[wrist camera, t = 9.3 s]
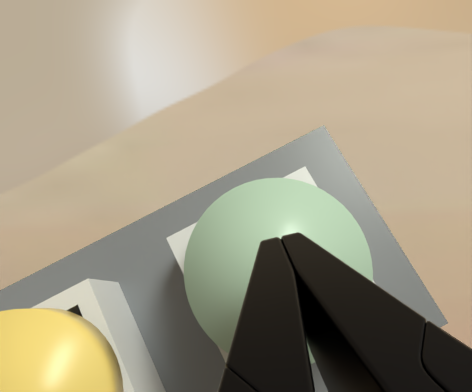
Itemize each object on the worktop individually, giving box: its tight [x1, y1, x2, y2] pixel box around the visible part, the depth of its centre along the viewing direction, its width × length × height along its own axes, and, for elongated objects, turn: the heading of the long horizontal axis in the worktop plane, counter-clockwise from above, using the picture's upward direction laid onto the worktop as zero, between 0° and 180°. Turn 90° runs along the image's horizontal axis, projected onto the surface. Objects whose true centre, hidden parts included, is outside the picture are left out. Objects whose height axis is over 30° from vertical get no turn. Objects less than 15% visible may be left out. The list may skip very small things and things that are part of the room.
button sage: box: [184, 178, 373, 364], centre depth 13 cm, size 5×5×4 cm
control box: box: [0, 125, 448, 392], centre depth 16 cm, size 9×26×7 cm, turn 117°
